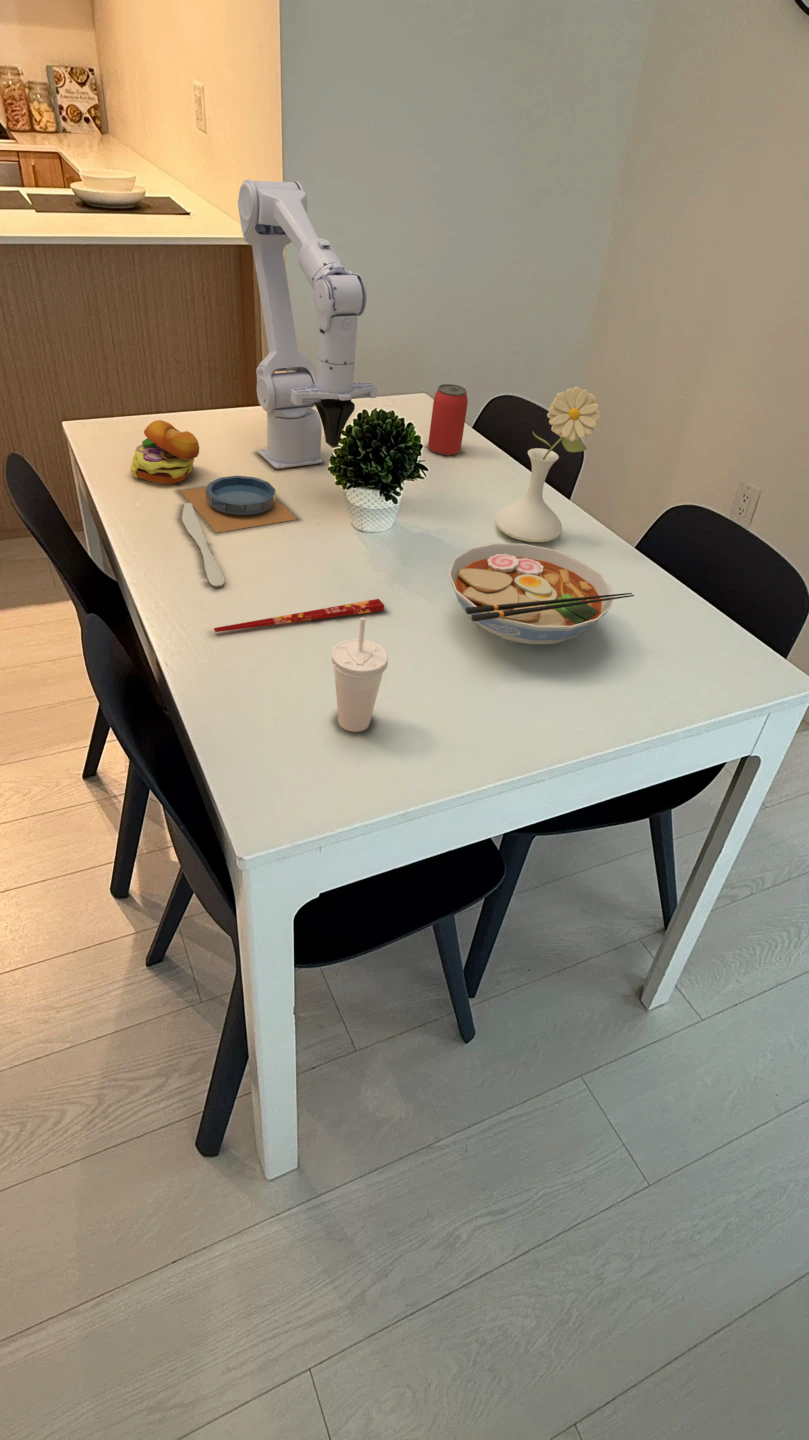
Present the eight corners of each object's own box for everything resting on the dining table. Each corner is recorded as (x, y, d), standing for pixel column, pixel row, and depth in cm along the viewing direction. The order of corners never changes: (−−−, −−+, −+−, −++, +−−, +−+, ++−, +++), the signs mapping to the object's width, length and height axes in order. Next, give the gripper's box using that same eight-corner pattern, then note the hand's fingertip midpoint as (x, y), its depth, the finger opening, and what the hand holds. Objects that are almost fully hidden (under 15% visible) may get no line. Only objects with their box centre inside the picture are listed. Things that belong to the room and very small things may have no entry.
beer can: (466, 450, 173) (475, 389, 166) (450, 459, 169) (459, 397, 161) (438, 440, 176) (446, 380, 168) (421, 449, 171) (428, 387, 164)
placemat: (257, 480, 152) (257, 480, 152) (297, 519, 142) (297, 519, 142) (179, 491, 146) (179, 490, 146) (216, 532, 135) (216, 532, 135)
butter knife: (204, 585, 122) (226, 582, 122) (176, 503, 141) (195, 501, 142) (205, 588, 122) (226, 586, 123) (177, 507, 141) (195, 505, 142)
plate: (259, 486, 150) (259, 472, 149) (285, 513, 143) (285, 499, 141) (197, 494, 145) (197, 480, 144) (221, 522, 138) (220, 508, 137)
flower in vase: (486, 538, 144) (513, 385, 128) (502, 512, 152) (529, 365, 137) (562, 557, 141) (600, 403, 126) (574, 529, 150) (611, 382, 134)
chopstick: (212, 630, 114) (212, 624, 113) (378, 603, 124) (378, 598, 123) (217, 638, 113) (217, 632, 112) (384, 611, 122) (384, 605, 122)
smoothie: (380, 706, 105) (391, 608, 96) (381, 741, 100) (393, 639, 92) (327, 703, 105) (334, 603, 96) (325, 737, 100) (332, 635, 91)
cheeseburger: (123, 464, 151) (132, 408, 146) (183, 474, 157) (194, 420, 152) (135, 488, 144) (145, 429, 139) (198, 497, 150) (209, 441, 145)
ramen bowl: (558, 579, 135) (569, 531, 130) (638, 661, 119) (655, 610, 114) (409, 594, 127) (416, 544, 122) (474, 686, 111) (485, 632, 106)
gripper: (306, 370, 130) (303, 458, 138) (389, 364, 136) (381, 448, 145) (285, 355, 134) (284, 441, 143) (367, 350, 141) (361, 432, 149)
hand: (331, 443), depth 144 cm, fingers closed
